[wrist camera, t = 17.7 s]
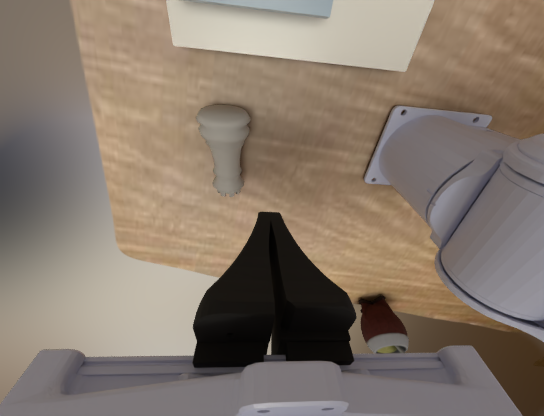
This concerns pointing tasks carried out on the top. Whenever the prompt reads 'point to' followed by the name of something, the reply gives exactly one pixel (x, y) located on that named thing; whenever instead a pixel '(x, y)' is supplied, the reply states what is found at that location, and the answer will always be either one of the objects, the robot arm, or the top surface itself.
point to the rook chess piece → (225, 143)
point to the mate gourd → (382, 327)
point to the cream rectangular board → (307, 31)
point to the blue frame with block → (279, 6)
